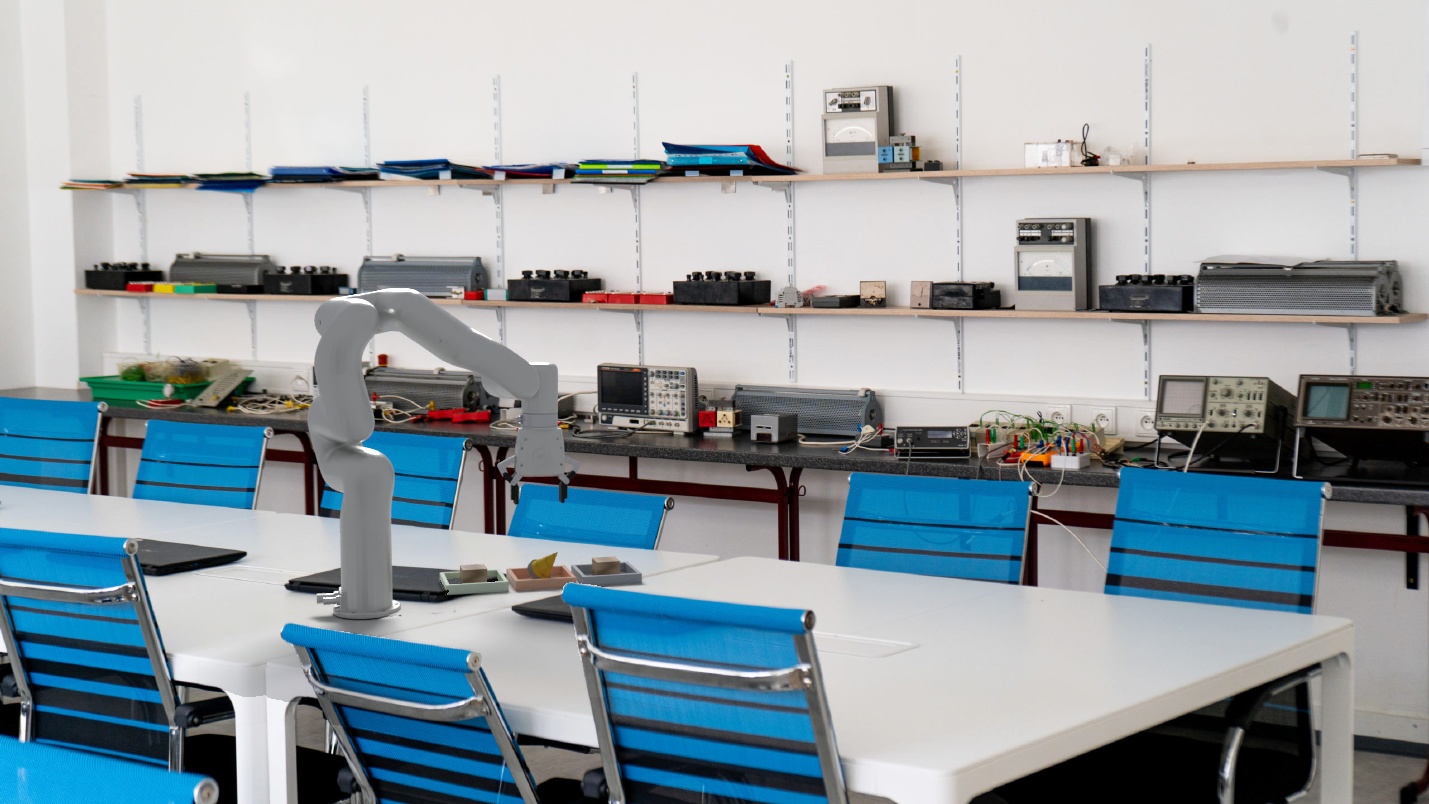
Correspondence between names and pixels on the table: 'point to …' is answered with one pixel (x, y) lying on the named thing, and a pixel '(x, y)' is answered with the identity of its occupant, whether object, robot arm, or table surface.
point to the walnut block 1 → (473, 573)
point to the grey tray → (626, 575)
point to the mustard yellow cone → (541, 567)
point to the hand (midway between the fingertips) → (539, 502)
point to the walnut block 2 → (605, 566)
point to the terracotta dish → (524, 582)
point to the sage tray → (475, 587)
